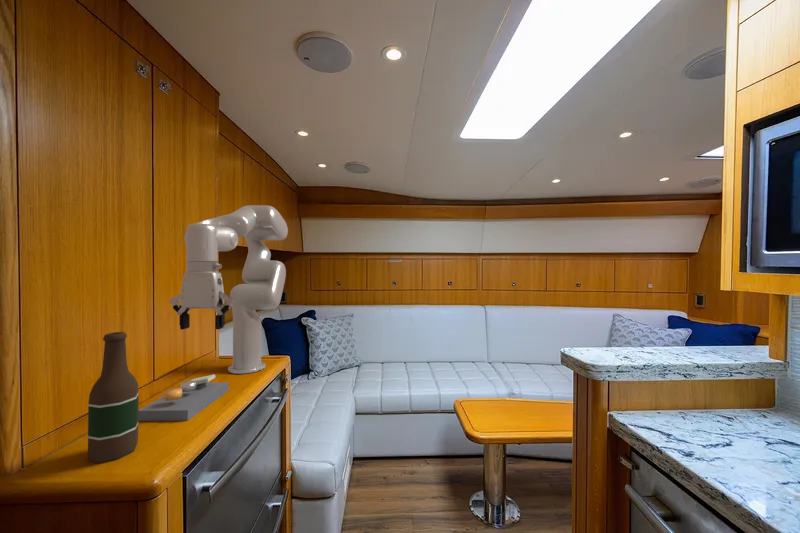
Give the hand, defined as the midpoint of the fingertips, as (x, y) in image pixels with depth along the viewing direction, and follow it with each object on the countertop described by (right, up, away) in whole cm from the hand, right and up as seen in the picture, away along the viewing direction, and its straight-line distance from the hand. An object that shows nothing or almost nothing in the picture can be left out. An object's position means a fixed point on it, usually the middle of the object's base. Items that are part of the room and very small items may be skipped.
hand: (202, 328), depth 93 cm
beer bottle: (-2, -20, -27) cm, 33 cm away
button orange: (-2, -16, -9) cm, 18 cm away
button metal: (-2, -16, -3) cm, 17 cm away
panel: (-2, -20, -3) cm, 21 cm away
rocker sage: (-2, -16, +3) cm, 17 cm away
